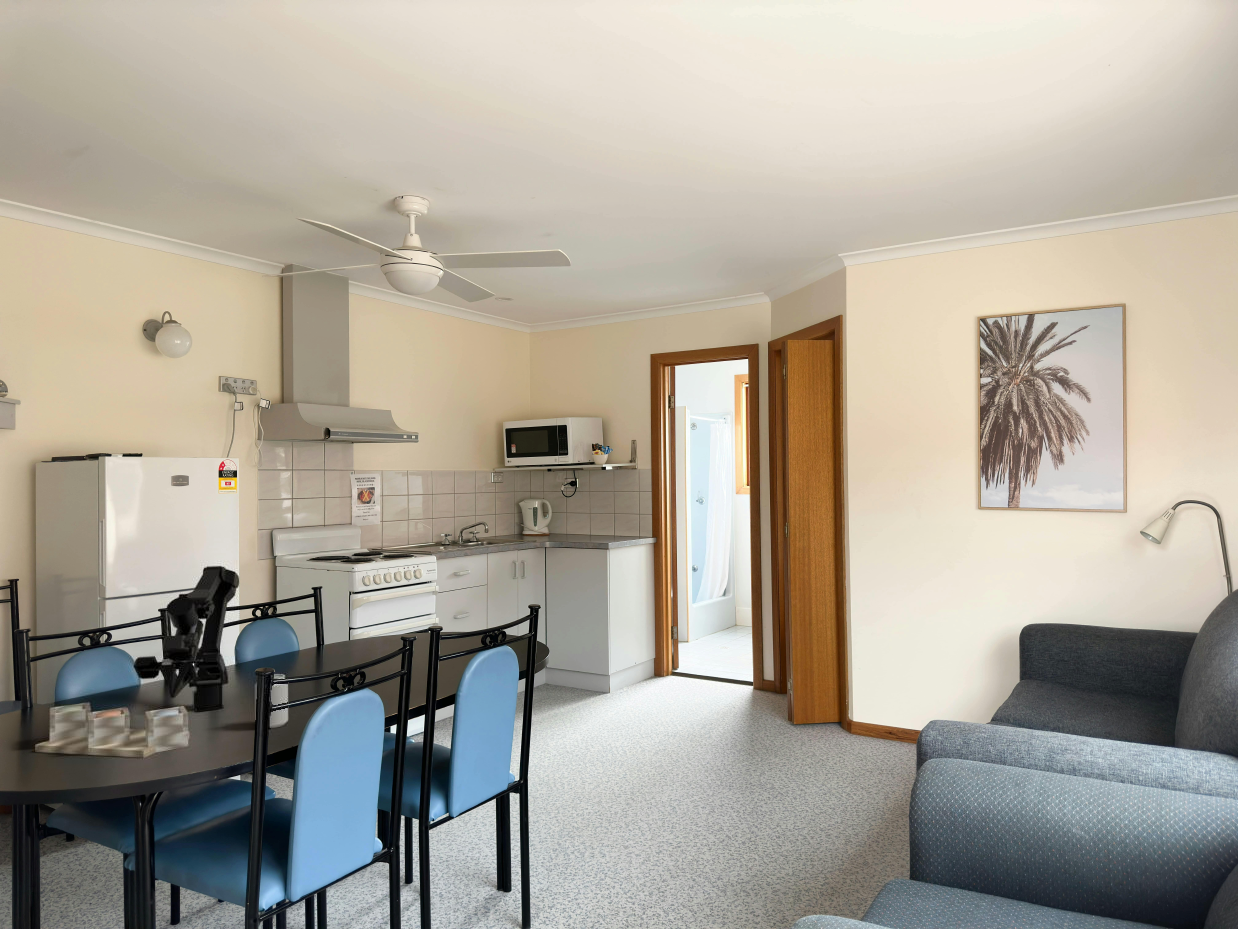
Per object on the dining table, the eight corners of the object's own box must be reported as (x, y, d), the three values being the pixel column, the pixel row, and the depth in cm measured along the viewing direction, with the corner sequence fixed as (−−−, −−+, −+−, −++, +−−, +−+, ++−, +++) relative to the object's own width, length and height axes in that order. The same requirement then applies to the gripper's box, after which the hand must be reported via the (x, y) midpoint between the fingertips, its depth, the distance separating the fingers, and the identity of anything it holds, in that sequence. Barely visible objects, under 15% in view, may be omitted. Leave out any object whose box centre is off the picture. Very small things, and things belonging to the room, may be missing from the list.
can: (275, 730, 196) (275, 680, 196) (248, 729, 197) (247, 679, 197) (294, 721, 203) (294, 673, 203) (267, 720, 204) (267, 672, 205)
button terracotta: (120, 722, 188) (120, 709, 189) (121, 727, 185) (121, 714, 185) (95, 726, 186) (95, 713, 186) (96, 731, 182) (96, 717, 182)
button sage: (82, 717, 194) (82, 704, 194) (82, 722, 190) (82, 709, 190) (57, 721, 191) (57, 708, 191) (57, 725, 187) (57, 712, 187)
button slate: (177, 721, 189) (177, 708, 189) (179, 726, 185) (179, 713, 185) (153, 725, 186) (153, 712, 186) (155, 730, 182) (155, 716, 182)
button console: (72, 732, 197) (72, 701, 197) (206, 738, 190) (206, 706, 190) (18, 751, 183) (18, 717, 183) (160, 758, 176) (160, 723, 176)
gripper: (136, 623, 193) (117, 681, 182) (221, 619, 197) (208, 675, 186) (148, 649, 200) (131, 707, 189) (230, 645, 204) (218, 701, 193)
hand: (172, 697), depth 189 cm, fingers closed
